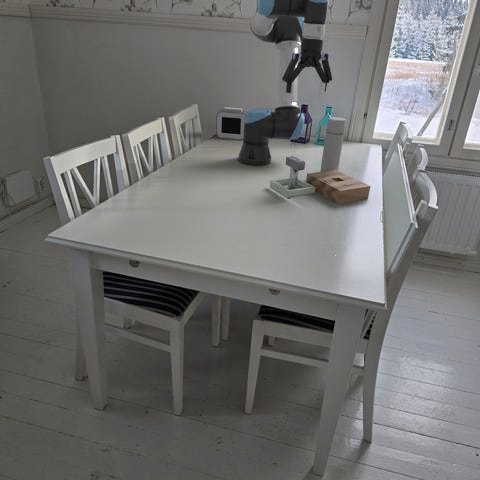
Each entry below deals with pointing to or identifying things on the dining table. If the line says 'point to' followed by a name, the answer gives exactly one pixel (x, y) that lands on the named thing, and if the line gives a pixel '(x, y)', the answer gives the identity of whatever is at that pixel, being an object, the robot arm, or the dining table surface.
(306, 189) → the tray
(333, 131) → the water bottle
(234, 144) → the dining table surface
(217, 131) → the grey monitor with handle
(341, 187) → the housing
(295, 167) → the t key
